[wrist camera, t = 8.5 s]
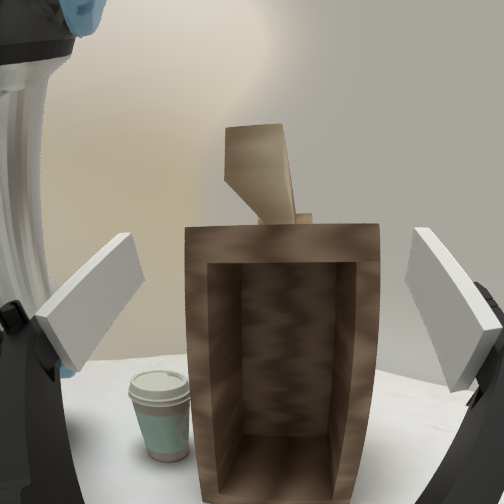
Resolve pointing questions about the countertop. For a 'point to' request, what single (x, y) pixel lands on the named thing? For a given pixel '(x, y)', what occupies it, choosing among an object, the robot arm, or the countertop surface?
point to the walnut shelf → (281, 358)
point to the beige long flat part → (262, 173)
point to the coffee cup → (162, 412)
